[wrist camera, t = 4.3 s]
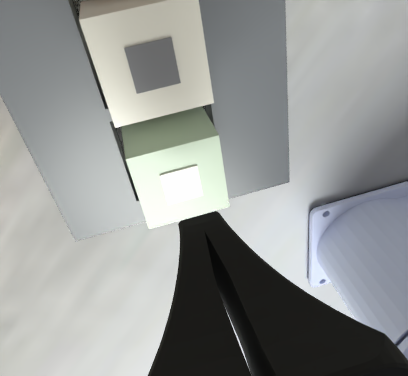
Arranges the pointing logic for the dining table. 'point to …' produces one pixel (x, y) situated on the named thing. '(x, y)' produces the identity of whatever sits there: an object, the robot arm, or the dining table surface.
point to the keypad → (101, 118)
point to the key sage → (176, 166)
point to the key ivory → (147, 56)
